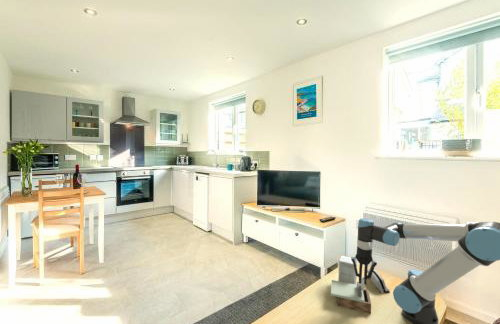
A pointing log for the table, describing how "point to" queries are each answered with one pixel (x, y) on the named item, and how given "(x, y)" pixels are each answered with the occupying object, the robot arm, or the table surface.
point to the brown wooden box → (357, 303)
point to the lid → (347, 291)
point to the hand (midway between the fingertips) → (362, 289)
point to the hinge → (378, 281)
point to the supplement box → (347, 270)
